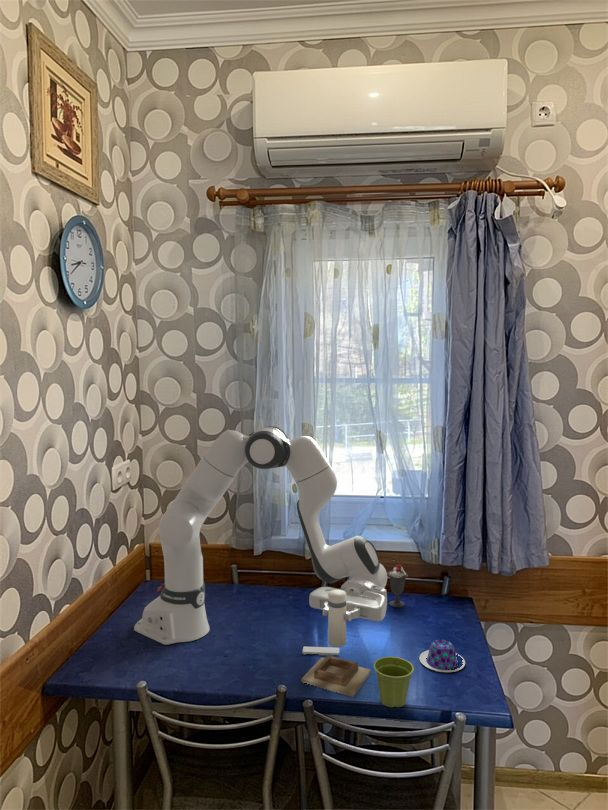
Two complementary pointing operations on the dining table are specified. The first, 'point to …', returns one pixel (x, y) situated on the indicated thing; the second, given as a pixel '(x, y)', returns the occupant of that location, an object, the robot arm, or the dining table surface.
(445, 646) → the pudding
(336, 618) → the grooved cream capsule
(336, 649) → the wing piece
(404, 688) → the plant pot
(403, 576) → the sundae
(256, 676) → the dining table surface
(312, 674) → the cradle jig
